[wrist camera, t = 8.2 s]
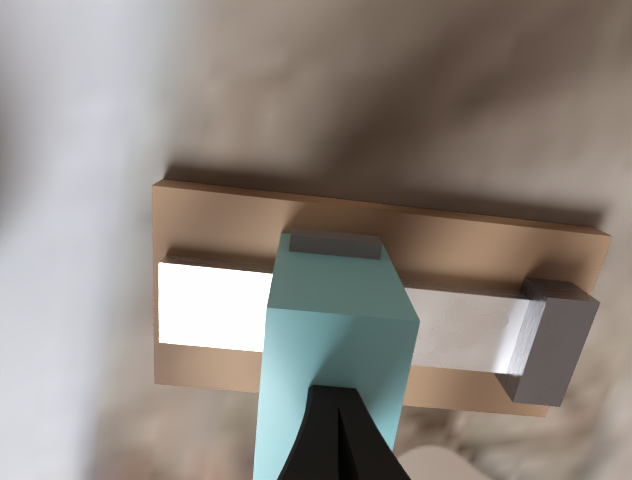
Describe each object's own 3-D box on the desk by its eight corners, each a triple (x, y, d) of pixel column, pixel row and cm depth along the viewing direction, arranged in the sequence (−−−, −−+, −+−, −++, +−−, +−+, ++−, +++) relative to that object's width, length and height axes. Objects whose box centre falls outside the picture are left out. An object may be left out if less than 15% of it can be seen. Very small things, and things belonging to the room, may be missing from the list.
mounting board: (592, 227, 18) (612, 236, 17) (531, 399, 21) (544, 417, 19) (162, 179, 17) (152, 185, 16) (163, 367, 20) (154, 383, 19)
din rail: (583, 283, 17) (613, 304, 15) (548, 379, 19) (571, 407, 17) (165, 239, 16) (148, 256, 15) (165, 344, 18) (150, 370, 16)
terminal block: (384, 227, 16) (424, 300, 11) (360, 369, 18) (383, 491, 13) (282, 218, 16) (267, 286, 10) (270, 362, 18) (252, 483, 13)
